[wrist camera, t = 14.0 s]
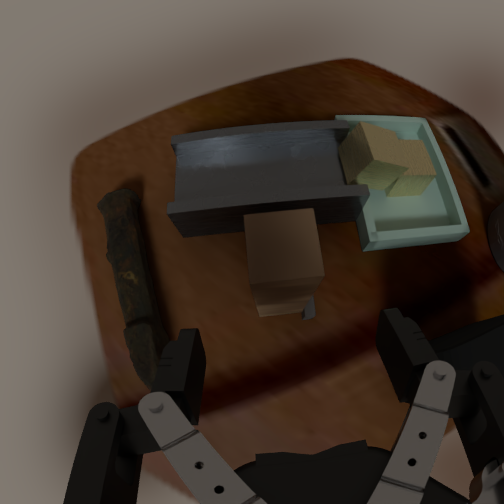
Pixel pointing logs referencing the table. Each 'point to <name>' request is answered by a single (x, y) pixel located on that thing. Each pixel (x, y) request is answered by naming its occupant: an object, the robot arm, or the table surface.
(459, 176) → the table surface
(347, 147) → the pale yellow cube
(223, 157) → the slot rail
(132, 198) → the hand tool
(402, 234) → the tray
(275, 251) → the tan wooden block
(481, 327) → the electronic device
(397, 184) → the tan cube
